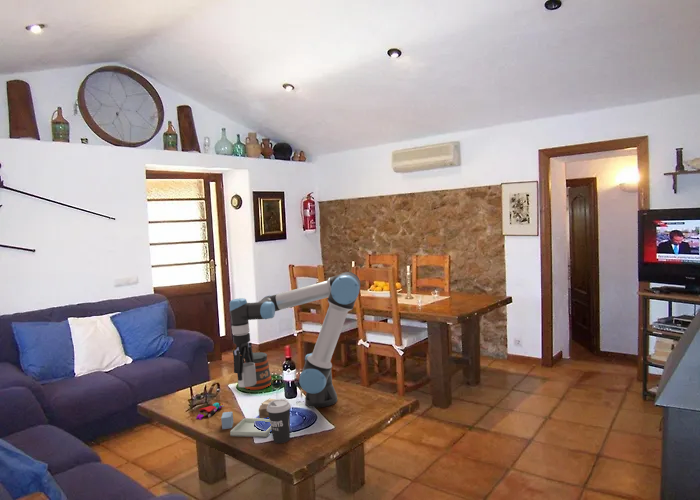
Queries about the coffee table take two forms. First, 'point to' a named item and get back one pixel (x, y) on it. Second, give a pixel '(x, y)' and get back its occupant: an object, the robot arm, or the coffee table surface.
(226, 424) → the blue painted block
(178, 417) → the coffee table surface
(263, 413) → the walnut block
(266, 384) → the beer stein
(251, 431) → the tray
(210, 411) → the toy
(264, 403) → the beech block
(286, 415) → the coffee cup
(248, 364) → the cup
